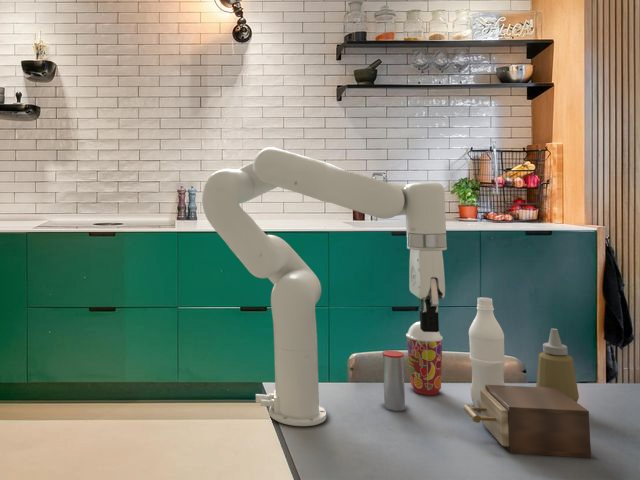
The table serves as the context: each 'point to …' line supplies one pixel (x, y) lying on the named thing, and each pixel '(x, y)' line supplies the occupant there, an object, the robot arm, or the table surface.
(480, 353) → the water bottle
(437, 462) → the table surface
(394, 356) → the spice tin
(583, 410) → the cabinet
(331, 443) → the table surface
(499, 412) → the drawer
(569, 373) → the squeeze bottle
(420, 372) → the smoothie
